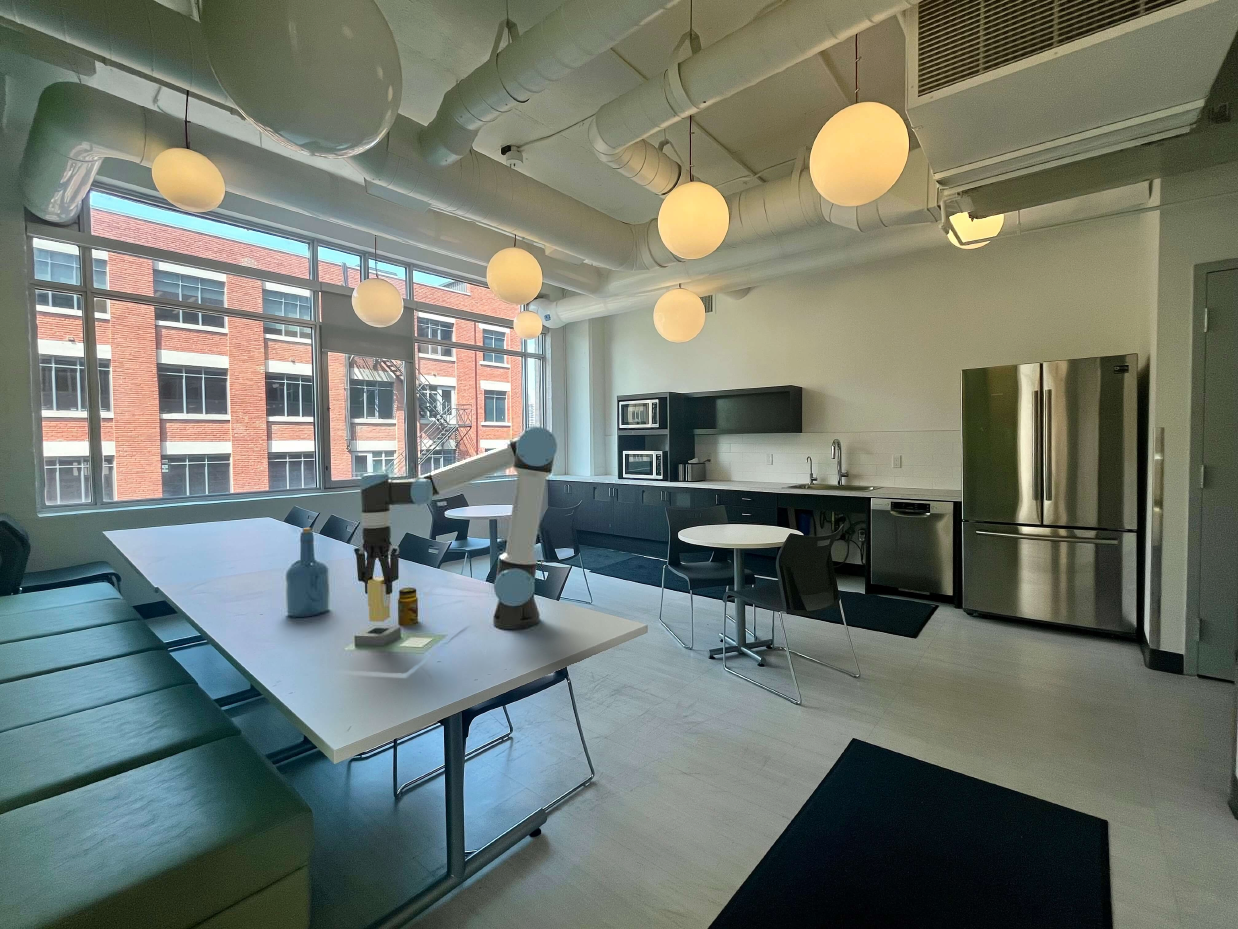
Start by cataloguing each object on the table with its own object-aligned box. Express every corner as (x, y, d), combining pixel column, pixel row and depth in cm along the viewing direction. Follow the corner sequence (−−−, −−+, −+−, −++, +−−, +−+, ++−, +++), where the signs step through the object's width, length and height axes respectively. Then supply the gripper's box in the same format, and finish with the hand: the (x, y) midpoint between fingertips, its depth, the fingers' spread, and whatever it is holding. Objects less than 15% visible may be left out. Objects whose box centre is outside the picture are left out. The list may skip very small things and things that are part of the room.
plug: (390, 617, 158) (388, 577, 158) (382, 621, 154) (380, 580, 154) (377, 617, 159) (376, 577, 158) (369, 621, 155) (367, 580, 154)
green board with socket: (447, 638, 161) (447, 625, 161) (422, 657, 146) (422, 642, 146) (374, 634, 165) (374, 621, 165) (343, 653, 150) (342, 638, 150)
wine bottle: (337, 610, 190) (335, 527, 189) (298, 621, 178) (296, 532, 178) (316, 604, 197) (315, 524, 196) (278, 614, 186) (276, 529, 185)
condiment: (421, 626, 172) (420, 590, 172) (393, 631, 168) (393, 594, 167) (416, 620, 178) (415, 585, 178) (389, 625, 174) (388, 589, 173)
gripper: (410, 524, 158) (413, 601, 159) (357, 524, 160) (360, 600, 161) (396, 527, 151) (399, 609, 151) (341, 527, 153) (344, 608, 154)
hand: (379, 604), depth 156 cm, fingers closed on plug, 4 cm apart
